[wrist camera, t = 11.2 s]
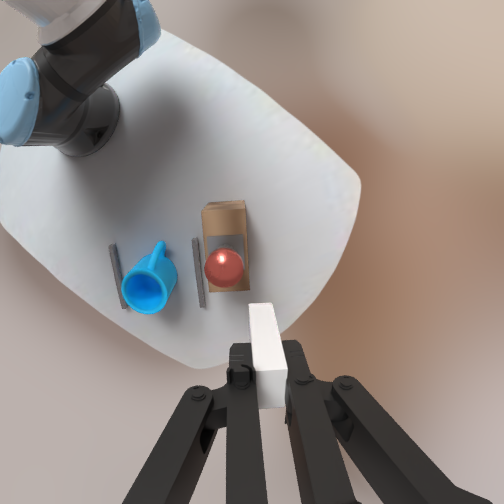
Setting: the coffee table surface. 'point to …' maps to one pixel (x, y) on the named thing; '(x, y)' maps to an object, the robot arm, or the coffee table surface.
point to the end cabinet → (226, 235)
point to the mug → (150, 282)
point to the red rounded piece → (224, 266)
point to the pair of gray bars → (119, 278)
